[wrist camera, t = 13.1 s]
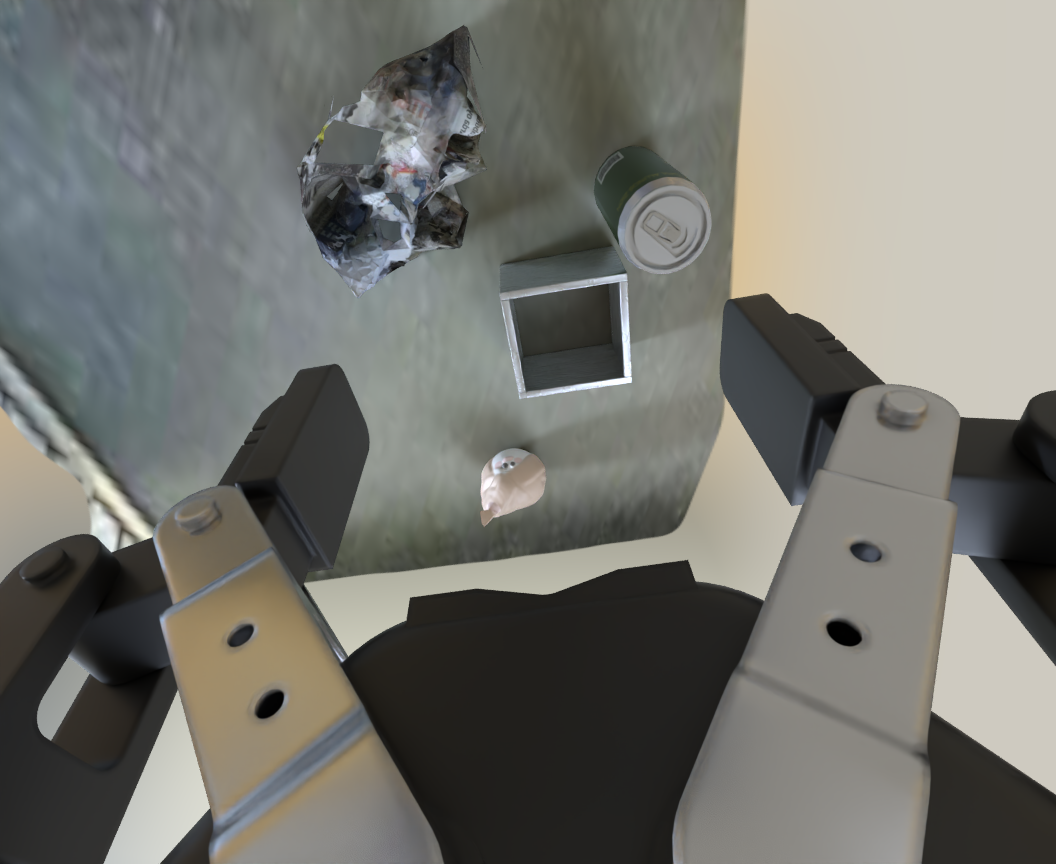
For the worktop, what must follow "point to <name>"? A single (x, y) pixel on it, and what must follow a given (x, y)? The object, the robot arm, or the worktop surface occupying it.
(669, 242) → the beer can
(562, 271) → the open square box
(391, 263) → the foil
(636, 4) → the worktop surface
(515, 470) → the garlic bulb
